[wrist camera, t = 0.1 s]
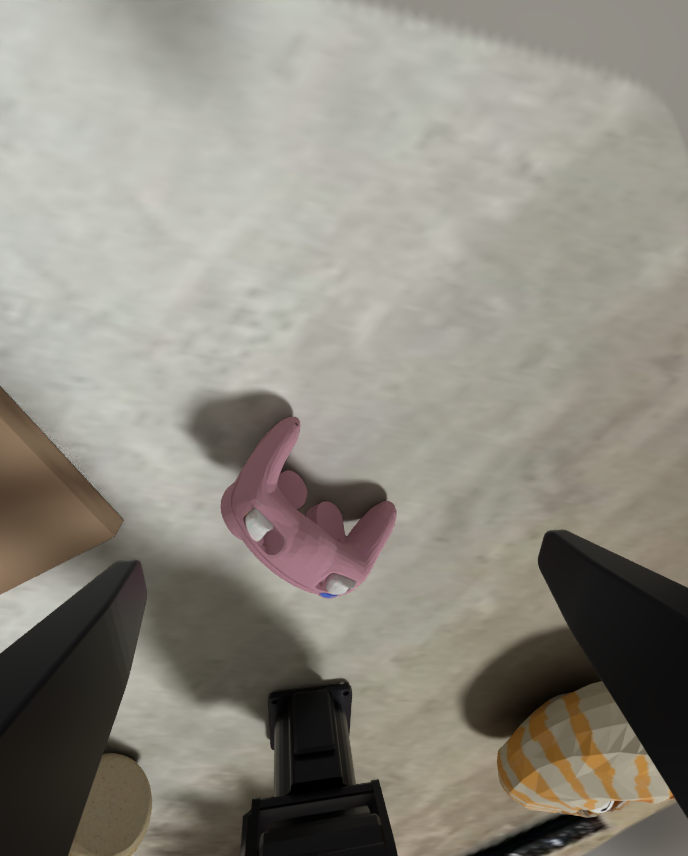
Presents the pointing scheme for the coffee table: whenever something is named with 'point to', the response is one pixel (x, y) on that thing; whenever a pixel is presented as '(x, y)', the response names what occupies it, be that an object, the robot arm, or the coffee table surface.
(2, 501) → the board
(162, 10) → the coffee table surface
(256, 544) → the pink elongated piece
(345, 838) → the robot arm
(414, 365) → the coffee table surface
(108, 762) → the ceramic mug
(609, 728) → the nautilus
